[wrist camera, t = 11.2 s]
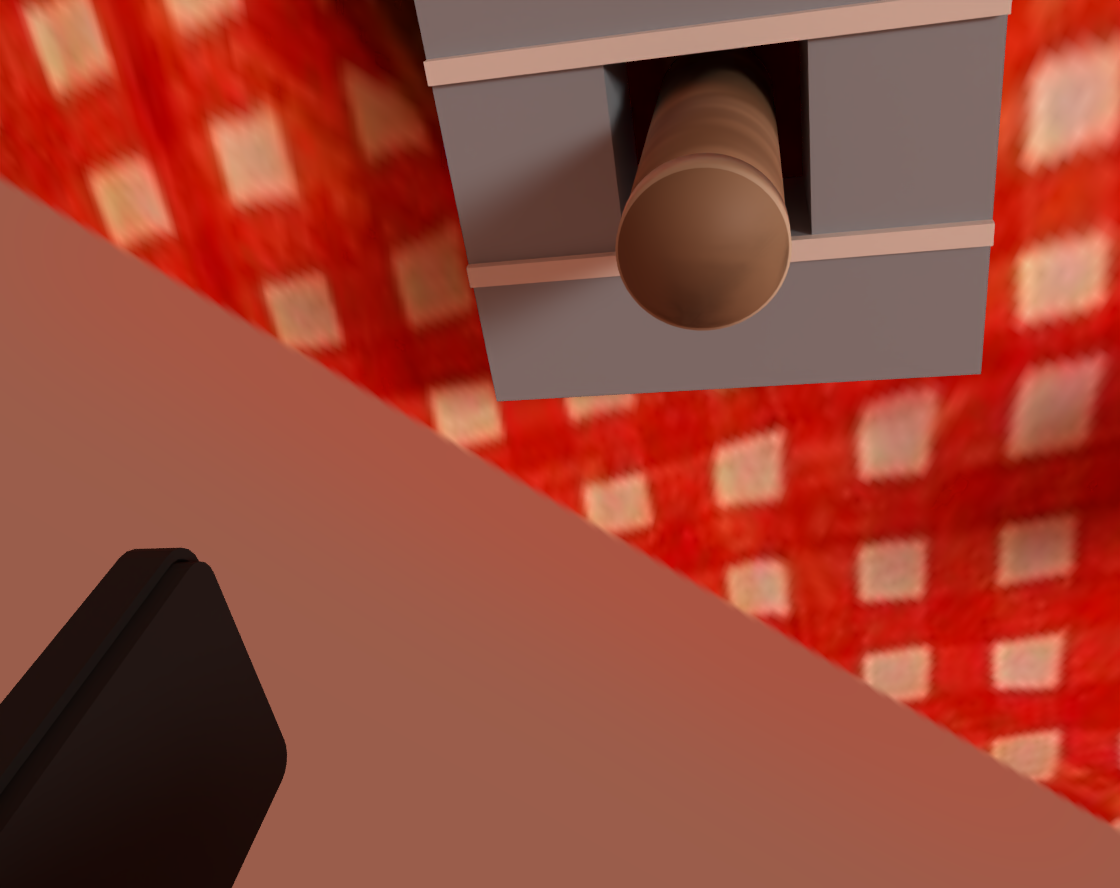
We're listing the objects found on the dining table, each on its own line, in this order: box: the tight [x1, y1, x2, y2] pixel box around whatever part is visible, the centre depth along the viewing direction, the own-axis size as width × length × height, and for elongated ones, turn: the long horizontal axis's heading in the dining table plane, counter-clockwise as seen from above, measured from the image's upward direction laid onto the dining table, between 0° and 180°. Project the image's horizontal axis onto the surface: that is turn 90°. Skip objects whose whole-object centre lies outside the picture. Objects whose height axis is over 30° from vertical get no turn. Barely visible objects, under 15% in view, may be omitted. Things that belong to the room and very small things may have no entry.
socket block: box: [414, 0, 1012, 401], centre depth 28 cm, size 14×14×5 cm
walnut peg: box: [615, 47, 792, 331], centre depth 25 cm, size 4×4×12 cm
